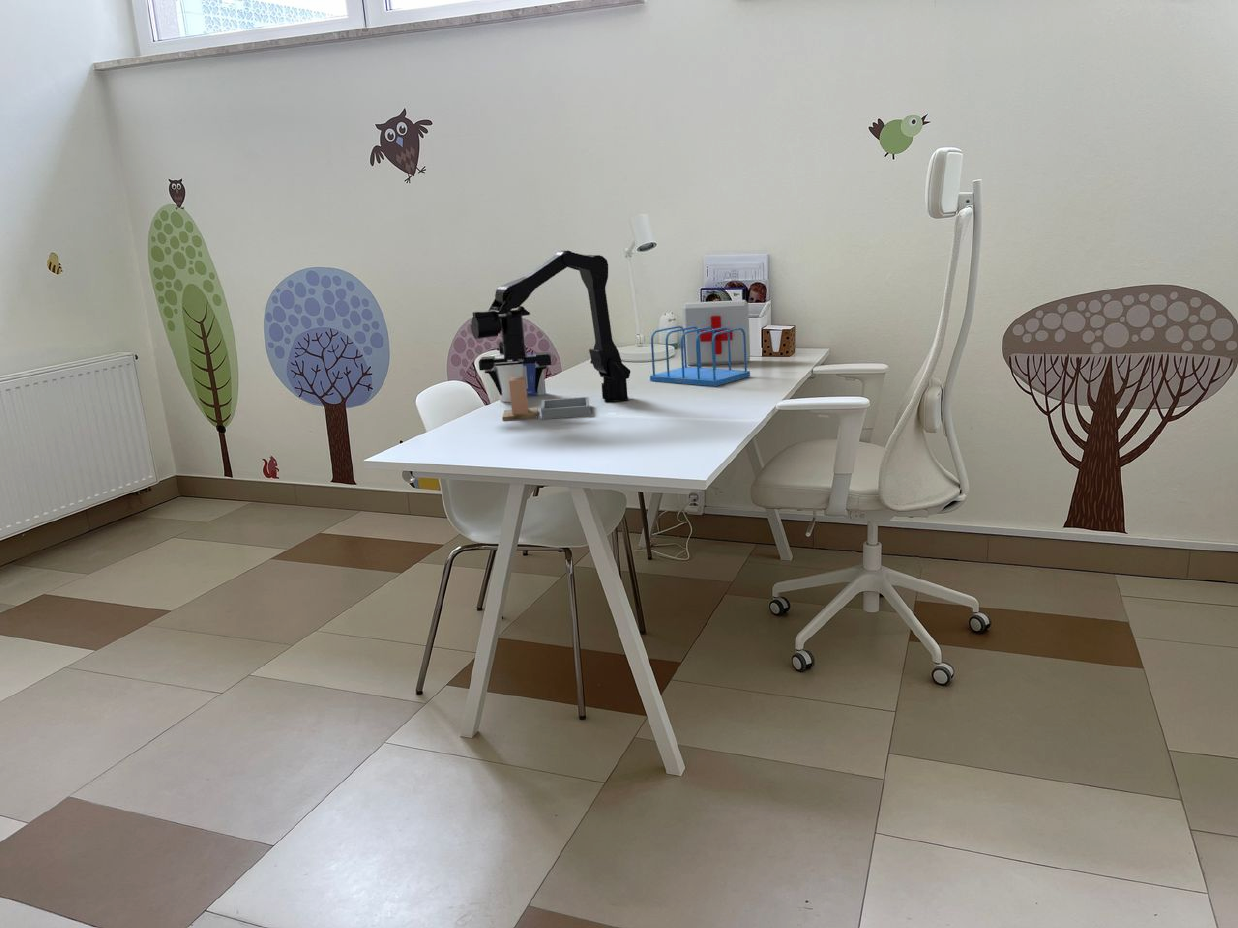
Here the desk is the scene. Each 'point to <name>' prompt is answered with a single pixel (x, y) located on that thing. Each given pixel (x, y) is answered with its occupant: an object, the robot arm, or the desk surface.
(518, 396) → the block
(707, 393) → the desk surface
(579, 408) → the tray
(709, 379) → the file sorter
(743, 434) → the desk surface
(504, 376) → the foam cup
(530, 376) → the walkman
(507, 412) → the coaster
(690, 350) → the bevelled white case
